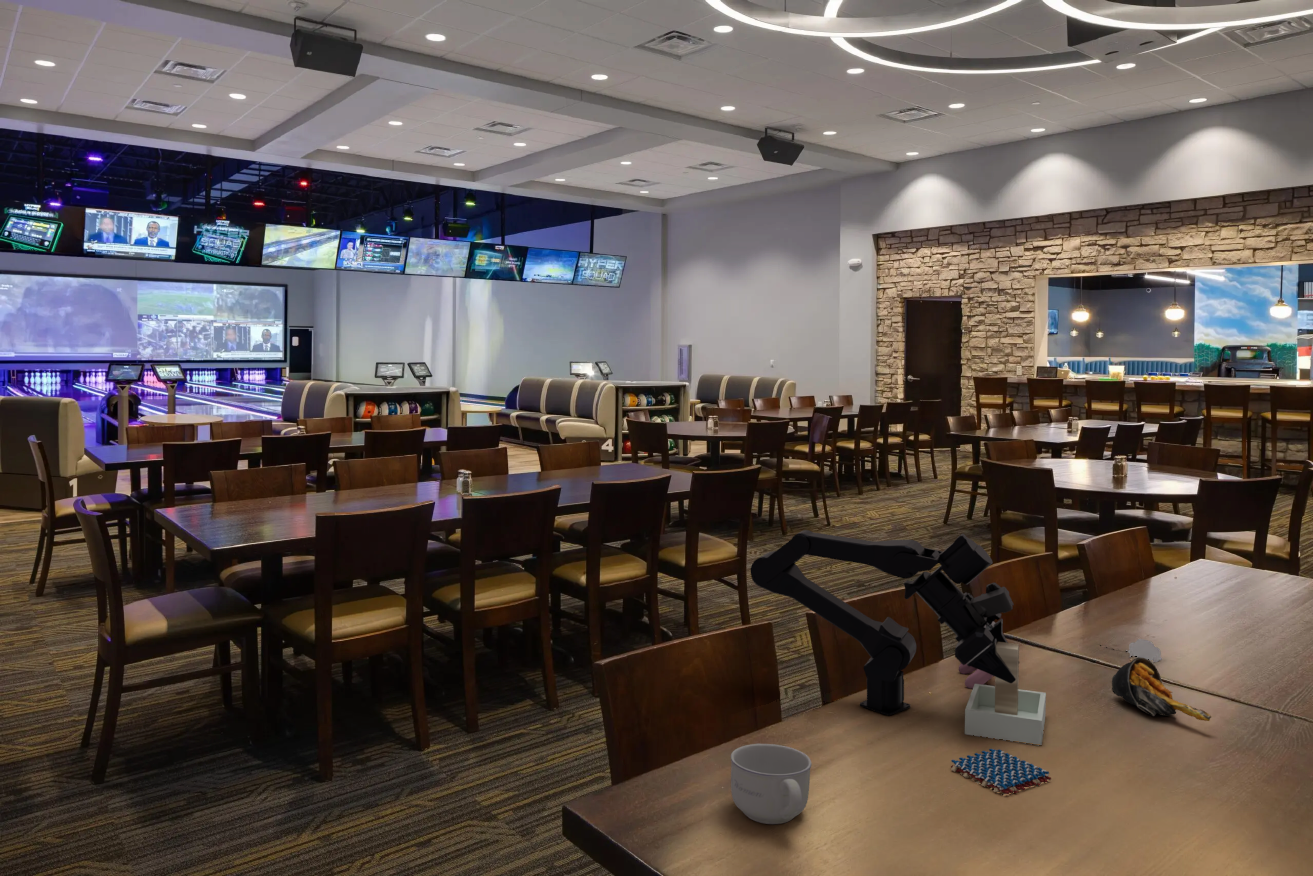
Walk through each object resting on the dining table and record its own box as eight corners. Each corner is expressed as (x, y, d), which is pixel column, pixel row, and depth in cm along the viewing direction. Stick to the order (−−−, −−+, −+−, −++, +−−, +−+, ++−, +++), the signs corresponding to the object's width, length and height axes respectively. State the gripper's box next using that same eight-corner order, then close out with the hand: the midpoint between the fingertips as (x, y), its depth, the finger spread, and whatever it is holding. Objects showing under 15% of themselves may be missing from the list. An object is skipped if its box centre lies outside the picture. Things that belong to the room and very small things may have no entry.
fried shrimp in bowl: (1133, 666, 168) (1229, 661, 153) (1134, 727, 164) (1232, 728, 149) (1098, 653, 165) (1193, 646, 150) (1098, 715, 161) (1195, 715, 145)
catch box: (1041, 746, 145) (1041, 720, 144) (964, 734, 150) (965, 709, 149) (1045, 716, 157) (1045, 692, 156) (974, 706, 162) (974, 683, 161)
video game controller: (985, 698, 170) (1004, 666, 169) (963, 686, 170) (981, 654, 169) (977, 680, 180) (994, 650, 179) (955, 669, 180) (972, 639, 179)
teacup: (725, 797, 129) (724, 742, 128) (800, 793, 130) (800, 738, 129) (742, 848, 115) (742, 787, 114) (827, 843, 116) (827, 782, 115)
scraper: (1015, 731, 149) (1016, 653, 148) (993, 728, 150) (994, 651, 149) (1018, 714, 156) (1020, 640, 155) (997, 711, 157) (998, 638, 156)
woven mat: (1004, 802, 127) (1005, 788, 127) (947, 773, 137) (947, 760, 136) (1055, 785, 132) (1055, 771, 132) (996, 758, 141) (996, 745, 141)
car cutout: (1169, 661, 186) (1170, 640, 186) (1155, 668, 182) (1156, 646, 182) (1095, 645, 198) (1095, 624, 197) (1080, 651, 193) (1081, 630, 193)
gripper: (977, 583, 144) (1051, 660, 141) (988, 560, 161) (1055, 628, 157) (925, 626, 148) (996, 702, 145) (941, 600, 165) (1006, 667, 161)
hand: (1015, 673), depth 152 cm, fingers open, 9 cm apart
